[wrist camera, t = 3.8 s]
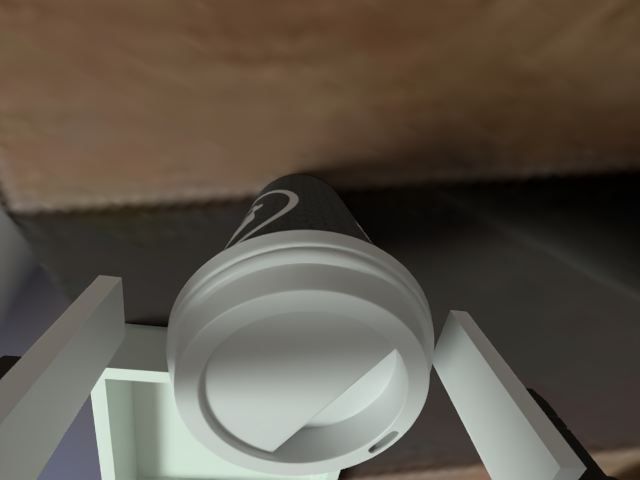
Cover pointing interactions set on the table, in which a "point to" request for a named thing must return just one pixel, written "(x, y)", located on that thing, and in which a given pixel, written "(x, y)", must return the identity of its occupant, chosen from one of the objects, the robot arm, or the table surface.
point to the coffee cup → (300, 339)
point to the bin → (154, 420)
